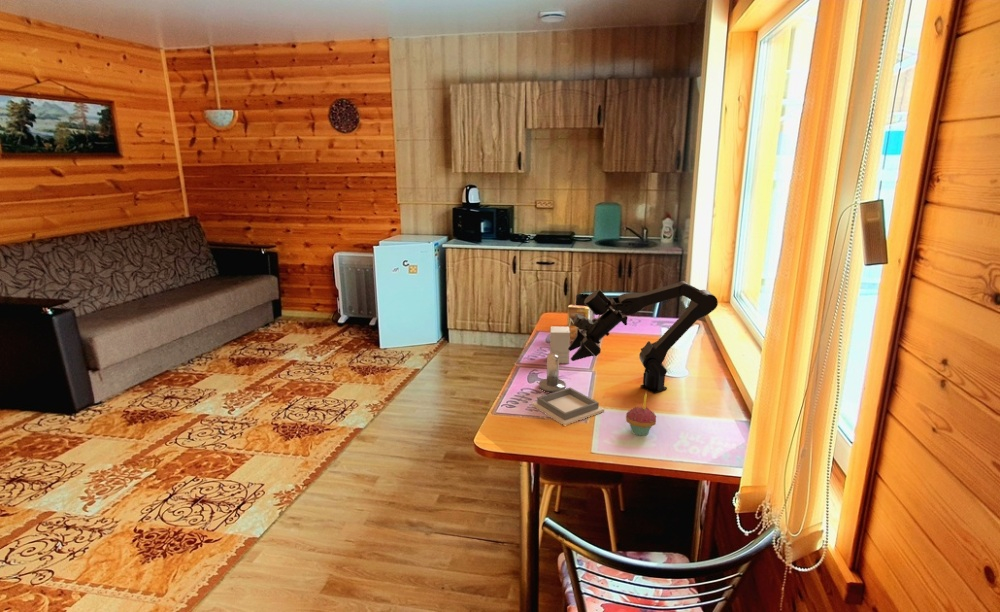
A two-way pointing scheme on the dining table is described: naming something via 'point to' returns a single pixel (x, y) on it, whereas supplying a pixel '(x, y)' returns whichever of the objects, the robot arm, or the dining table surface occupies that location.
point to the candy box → (572, 313)
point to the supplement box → (560, 342)
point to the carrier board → (567, 406)
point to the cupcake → (641, 419)
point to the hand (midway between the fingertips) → (570, 354)
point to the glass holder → (580, 301)
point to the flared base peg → (552, 375)
